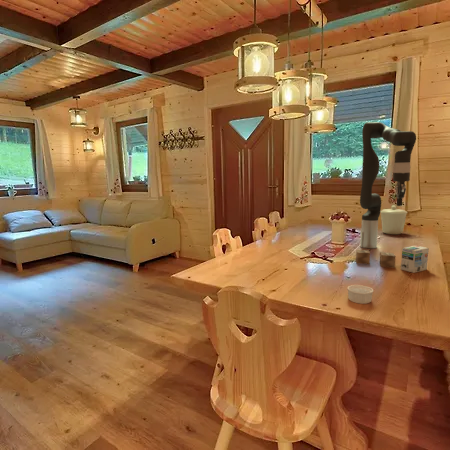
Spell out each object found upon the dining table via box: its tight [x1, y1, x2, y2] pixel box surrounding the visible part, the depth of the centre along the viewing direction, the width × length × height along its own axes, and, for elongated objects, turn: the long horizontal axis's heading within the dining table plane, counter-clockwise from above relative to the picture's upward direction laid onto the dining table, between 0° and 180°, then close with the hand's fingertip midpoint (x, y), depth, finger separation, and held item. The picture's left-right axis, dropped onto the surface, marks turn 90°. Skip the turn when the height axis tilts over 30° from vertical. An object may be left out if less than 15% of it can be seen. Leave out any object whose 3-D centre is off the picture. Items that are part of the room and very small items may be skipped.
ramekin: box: [347, 284, 374, 305], centre depth 116 cm, size 9×9×4 cm
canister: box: [380, 205, 409, 235], centre depth 234 cm, size 18×18×21 cm
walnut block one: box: [379, 252, 396, 269], centre depth 157 cm, size 6×6×6 cm
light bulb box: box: [400, 244, 429, 274], centre depth 149 cm, size 11×7×11 cm, turn 117°
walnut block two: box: [355, 249, 371, 265], centre depth 163 cm, size 6×6×6 cm
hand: (399, 205), depth 162 cm, fingers closed
